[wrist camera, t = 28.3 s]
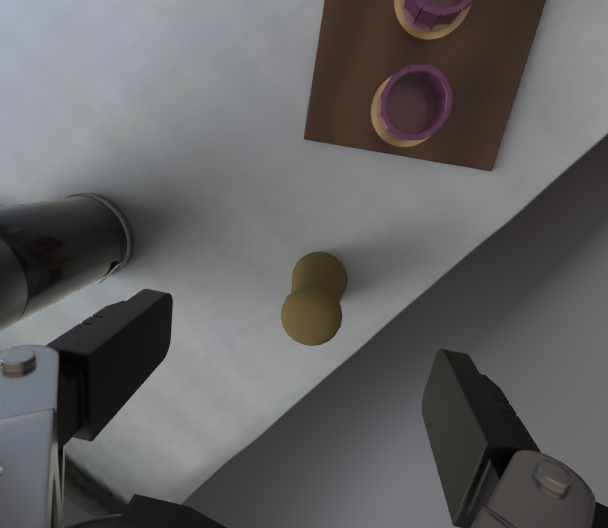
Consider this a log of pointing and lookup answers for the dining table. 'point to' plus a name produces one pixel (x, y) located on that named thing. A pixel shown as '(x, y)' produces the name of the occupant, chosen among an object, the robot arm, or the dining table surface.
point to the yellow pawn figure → (315, 299)
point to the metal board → (420, 50)
